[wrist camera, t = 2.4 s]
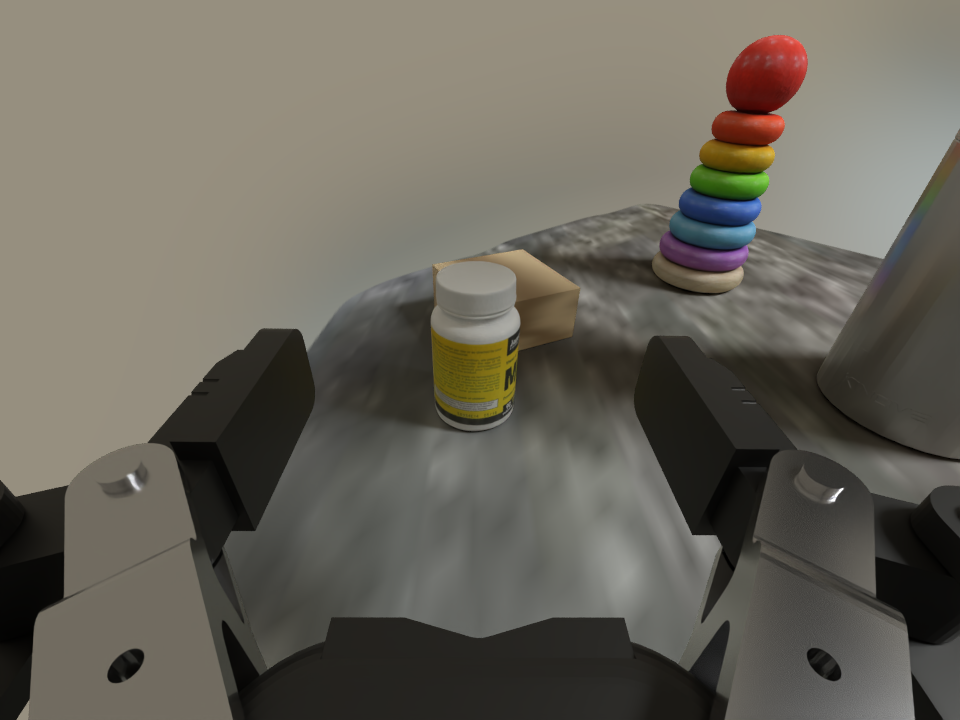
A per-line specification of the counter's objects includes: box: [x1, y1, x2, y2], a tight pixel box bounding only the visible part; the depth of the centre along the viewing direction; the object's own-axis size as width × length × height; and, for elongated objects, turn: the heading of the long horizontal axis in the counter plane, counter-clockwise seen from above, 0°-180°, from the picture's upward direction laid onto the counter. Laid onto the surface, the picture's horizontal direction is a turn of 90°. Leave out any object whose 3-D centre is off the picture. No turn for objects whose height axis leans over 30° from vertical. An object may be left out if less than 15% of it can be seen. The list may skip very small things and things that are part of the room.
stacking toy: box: [652, 35, 808, 293], centre depth 36 cm, size 8×8×19 cm
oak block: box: [433, 249, 580, 351], centre depth 33 cm, size 8×8×4 cm
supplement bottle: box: [431, 261, 520, 431], centre depth 24 cm, size 5×5×8 cm
